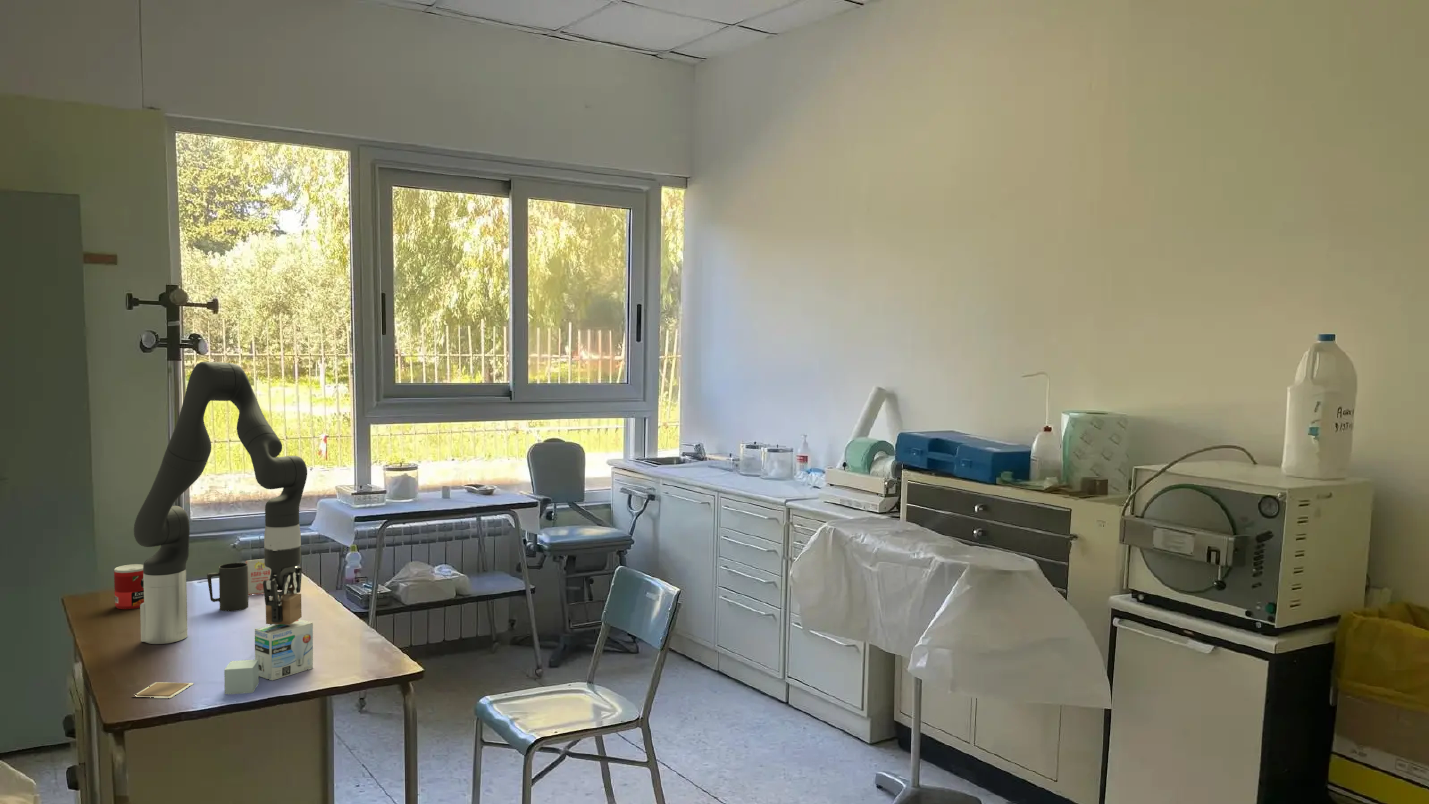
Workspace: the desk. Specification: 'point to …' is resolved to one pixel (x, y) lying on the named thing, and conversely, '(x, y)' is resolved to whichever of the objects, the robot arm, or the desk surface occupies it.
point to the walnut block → (287, 609)
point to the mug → (231, 586)
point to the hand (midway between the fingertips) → (283, 617)
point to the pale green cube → (241, 676)
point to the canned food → (129, 586)
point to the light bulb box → (284, 649)
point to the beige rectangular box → (257, 576)
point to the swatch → (163, 690)
